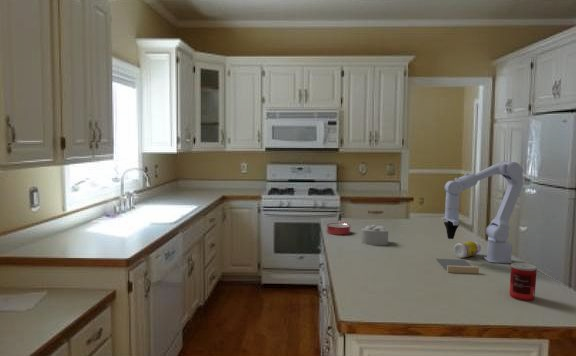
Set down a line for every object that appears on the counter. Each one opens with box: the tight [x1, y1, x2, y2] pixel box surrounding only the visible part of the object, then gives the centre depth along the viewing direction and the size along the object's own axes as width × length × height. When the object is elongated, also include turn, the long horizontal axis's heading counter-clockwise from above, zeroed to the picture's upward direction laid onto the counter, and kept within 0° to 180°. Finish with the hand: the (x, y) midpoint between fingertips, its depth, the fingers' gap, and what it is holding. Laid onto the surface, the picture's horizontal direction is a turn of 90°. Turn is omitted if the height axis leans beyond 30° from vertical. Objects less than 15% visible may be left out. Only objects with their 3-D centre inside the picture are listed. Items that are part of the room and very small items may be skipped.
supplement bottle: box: [453, 240, 482, 259], centre depth 206 cm, size 7×7×13 cm
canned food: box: [509, 262, 538, 302], centre depth 153 cm, size 8×8×11 cm
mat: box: [436, 258, 480, 274], centre depth 189 cm, size 12×19×2 cm, turn 175°
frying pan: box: [326, 213, 351, 236], centre depth 262 cm, size 32×13×6 cm, turn 177°
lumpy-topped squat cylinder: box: [360, 224, 389, 246], centre depth 229 cm, size 10×13×9 cm
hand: (450, 238), depth 199 cm, fingers closed
